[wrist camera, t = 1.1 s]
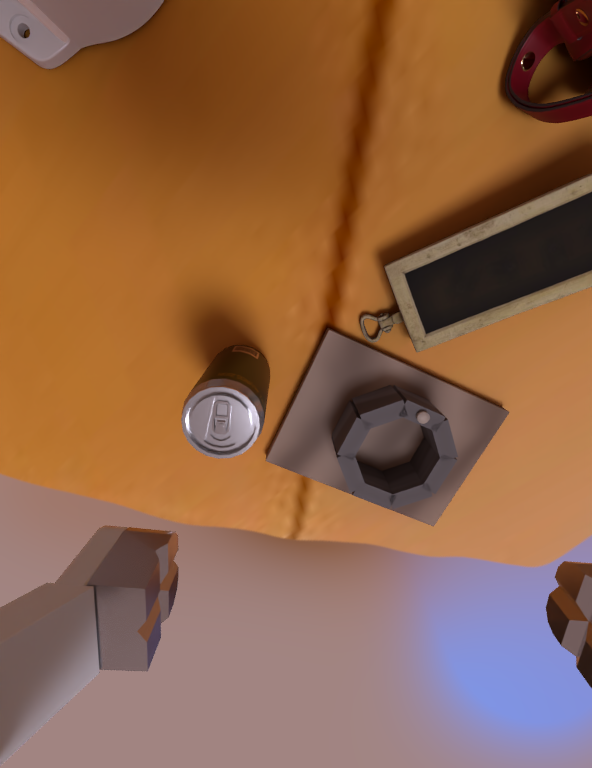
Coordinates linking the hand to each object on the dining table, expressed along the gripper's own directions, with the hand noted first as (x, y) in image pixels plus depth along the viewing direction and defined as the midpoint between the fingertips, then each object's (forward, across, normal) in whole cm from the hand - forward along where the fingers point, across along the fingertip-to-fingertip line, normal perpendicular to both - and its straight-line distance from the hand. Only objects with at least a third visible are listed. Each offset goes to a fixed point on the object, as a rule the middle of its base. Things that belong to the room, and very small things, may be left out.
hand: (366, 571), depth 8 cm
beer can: (+28, +7, +3) cm, 29 cm away
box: (+28, -13, -8) cm, 32 cm away
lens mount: (+28, -8, +8) cm, 31 cm away
